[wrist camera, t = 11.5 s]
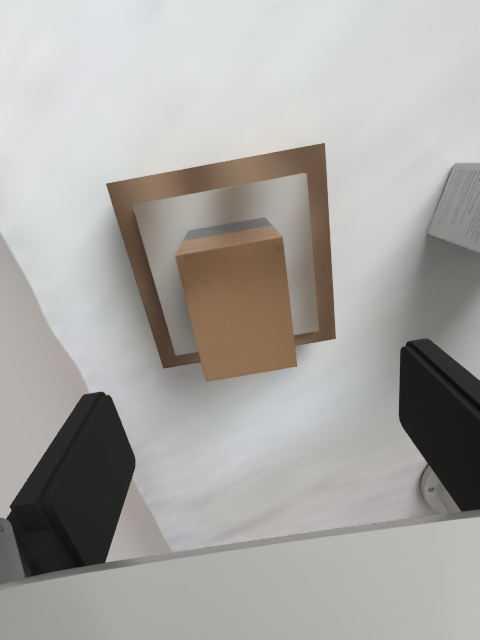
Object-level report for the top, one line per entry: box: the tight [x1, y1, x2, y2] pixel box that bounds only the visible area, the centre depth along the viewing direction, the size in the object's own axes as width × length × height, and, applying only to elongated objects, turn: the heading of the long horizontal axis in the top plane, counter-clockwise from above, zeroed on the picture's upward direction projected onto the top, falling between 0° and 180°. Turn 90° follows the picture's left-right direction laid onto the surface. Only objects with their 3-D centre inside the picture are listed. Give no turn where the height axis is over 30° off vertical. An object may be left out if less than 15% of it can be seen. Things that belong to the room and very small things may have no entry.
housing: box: [175, 217, 297, 381], centre depth 20 cm, size 5×7×7 cm
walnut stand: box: [106, 143, 336, 368], centre depth 26 cm, size 14×14×6 cm
